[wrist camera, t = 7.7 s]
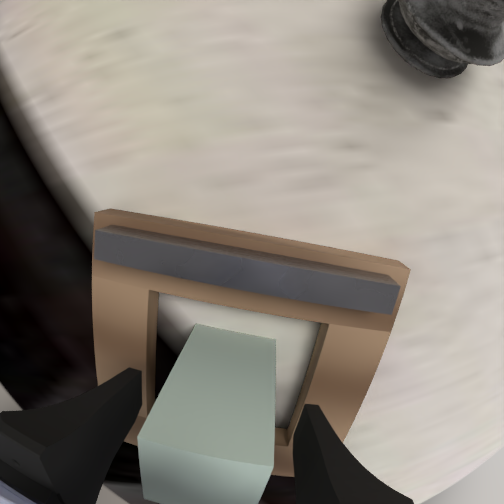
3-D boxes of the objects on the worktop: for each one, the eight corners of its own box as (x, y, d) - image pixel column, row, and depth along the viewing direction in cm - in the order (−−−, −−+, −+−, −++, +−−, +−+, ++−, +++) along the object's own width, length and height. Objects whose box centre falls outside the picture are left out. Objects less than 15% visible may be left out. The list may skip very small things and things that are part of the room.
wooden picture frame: (320, 461, 17) (322, 478, 16) (114, 420, 18) (105, 434, 16) (398, 260, 14) (410, 269, 12) (110, 208, 14) (94, 212, 13)
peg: (260, 399, 16) (249, 521, 8) (189, 385, 16) (143, 498, 9) (276, 339, 15) (273, 466, 7) (196, 323, 15) (137, 436, 8)
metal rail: (380, 301, 13) (391, 314, 11) (110, 250, 13) (94, 258, 12) (388, 274, 13) (400, 286, 11) (112, 224, 13) (95, 230, 11)
